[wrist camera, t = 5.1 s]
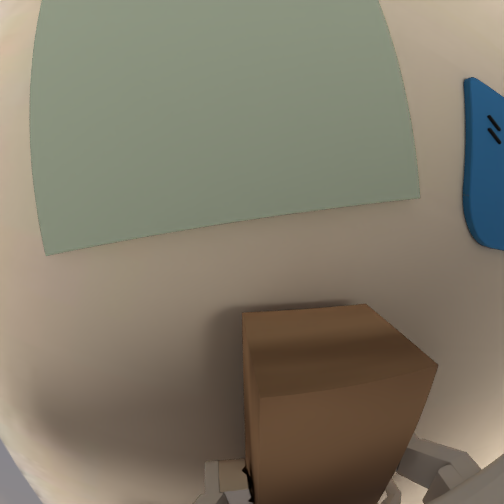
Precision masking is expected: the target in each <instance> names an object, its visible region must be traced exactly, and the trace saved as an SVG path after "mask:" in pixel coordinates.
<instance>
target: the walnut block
mask: <svg viewBox="0 0 504 504" xmlns="http://www.w3.org/2000/svg"><path fill="white" fill-rule="evenodd" d="M242 332H243V379H244V418H245V453H246V464H247V469H248V471H249V475H250V481H251V491H252V495H253V501H254V504H377V502H378V501H379V499H380V497H381V496H382V494H383V492H384V491H385V489H386V487H387V485H388V484H389V482H390V480H391V478H392V476H393V474H394V472H395V471H396V469H397V467H398V465H399V463H400V461H401V459H402V457H403V455H404V453H405V450H406V448H407V446H408V444H409V442H410V440H411V437H412V435H413V433H414V430H415V428H416V426H417V423H418V421H419V418H420V416H421V413H422V411H423V408H424V406H425V403H426V400H427V398H428V395H429V392H430V389H431V386H432V383H433V380H434V377H435V374H436V371H437V368H438V364H437V363H435V362H434V361H433V360H432V359H431V358H430V357H428V356H427V355H426V354H425V353H424V352H423V351H421V350H420V349H419V348H418V347H417V346H416V345H414V344H413V343H412V342H411V341H410V340H409V339H407V338H406V337H405V336H404V335H403V334H401V333H400V332H399V331H398V330H397V329H396V328H394V327H393V326H392V325H391V324H390V323H388V322H387V321H386V320H385V319H384V318H382V317H381V316H380V315H379V314H378V313H376V312H375V311H374V310H373V309H372V308H370V307H369V306H368V305H367V304H358V305H348V306H337V307H325V308H312V309H299V310H283V311H266V312H246V313H242Z"/></svg>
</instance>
